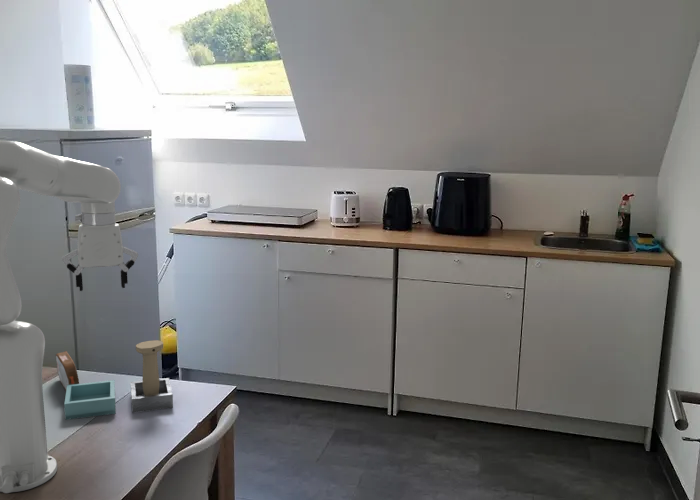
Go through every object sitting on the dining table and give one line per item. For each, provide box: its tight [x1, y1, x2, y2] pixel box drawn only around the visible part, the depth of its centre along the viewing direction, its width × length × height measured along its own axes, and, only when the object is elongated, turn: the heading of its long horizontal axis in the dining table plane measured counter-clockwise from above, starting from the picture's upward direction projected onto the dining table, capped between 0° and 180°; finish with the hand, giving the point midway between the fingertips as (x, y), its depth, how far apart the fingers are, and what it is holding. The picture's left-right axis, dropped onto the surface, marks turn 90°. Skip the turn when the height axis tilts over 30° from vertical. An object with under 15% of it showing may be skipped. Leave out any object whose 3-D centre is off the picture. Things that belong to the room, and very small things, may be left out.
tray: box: [64, 379, 117, 421], centre depth 157 cm, size 11×11×4 cm
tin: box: [55, 350, 80, 391], centre depth 167 cm, size 15×3×8 cm, turn 35°
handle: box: [135, 339, 164, 396], centre depth 159 cm, size 5×6×15 cm
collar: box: [130, 377, 174, 414], centre depth 161 cm, size 10×9×4 cm
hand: (102, 288), depth 158 cm, fingers open, 9 cm apart
